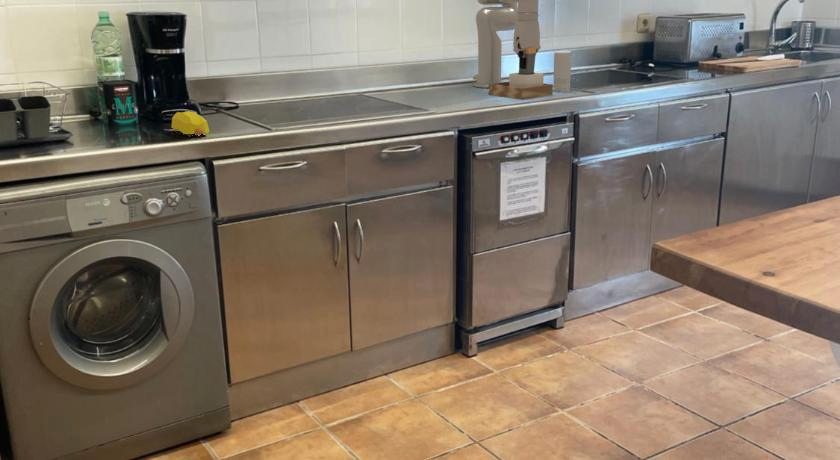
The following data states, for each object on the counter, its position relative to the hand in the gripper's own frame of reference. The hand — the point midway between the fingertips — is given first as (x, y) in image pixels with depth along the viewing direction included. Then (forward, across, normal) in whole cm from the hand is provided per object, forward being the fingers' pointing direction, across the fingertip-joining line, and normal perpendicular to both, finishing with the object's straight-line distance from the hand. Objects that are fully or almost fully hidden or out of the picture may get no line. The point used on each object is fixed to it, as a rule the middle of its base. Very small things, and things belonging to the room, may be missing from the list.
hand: (526, 67), depth 307 cm
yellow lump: (+11, +126, -20) cm, 128 cm away
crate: (+11, +1, -2) cm, 11 cm away
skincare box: (+11, -19, +1) cm, 22 cm away
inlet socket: (+10, 0, 0) cm, 10 cm away
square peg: (+4, 0, 0) cm, 4 cm away
